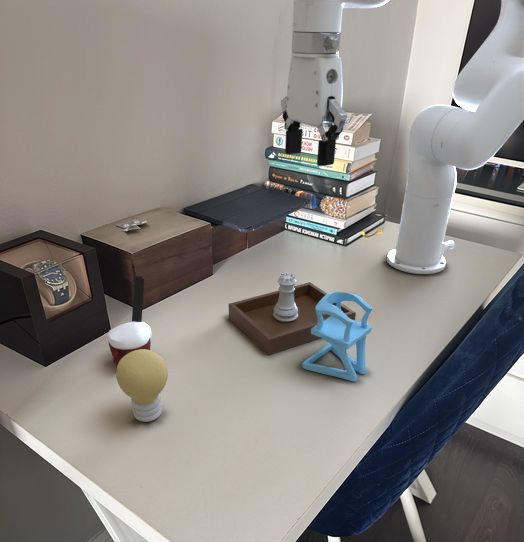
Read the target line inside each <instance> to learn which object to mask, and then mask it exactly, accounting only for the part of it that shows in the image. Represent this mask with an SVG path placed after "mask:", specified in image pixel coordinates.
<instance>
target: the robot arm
mask: <svg viewBox="0 0 524 542" xmlns="http://www.w3.org/2000/svg"><path fill="white" fill-rule="evenodd" d="M389 1H390V0H293V9H292V10H293V11H292V33H291V38H292V39H291V58H290V64H289V69H288V70H289V71H288V77H287V78H288V80H287V87H286V88H287V89H286V96H285V97H284V98H282V99H281V101H280V106H281V111H282V114H281V115H282V119H283V122H284V124H283V127H284V130H285V144H284V145H285V147H284V153H285V154H286V155H294V154H300V153H302V149H303V148H302V145H303V128H301V126H302V125H307V126H311V127H316V128H317V130H318V133H319V135H320V136H319V137H320V139H321V140H318V143H317V145H318V146H317V159H316V165H317V166H318V167H324V166H331V165H334V164H335V157H336V146H337V145H336V144H337V141H338V140H339V139H340V135H341V133H343V130H344V126H345V125H346V121H347V119H348V114H347V112H346V111H345V110H344V109H343V89H344V88H343V87H344V86H343V82H344V81H343V80H344V79H343V64H342V57H340V47H341V46H340V45H341V35H342V34H341V32H342V21H343V12H344V11H343V10H344V9H374V8H379V7H381V6H383V5H385V4H386V3H388V2H389ZM500 2H501V5H500V13H499V17H498V20H497V22H496V24H495V26H494V27H493V29H492V30H491V32H490V33H489V35H488V36H487V37H486V39H485V40H484V41H483V43H482V44H481V45H480V47H479V48H478V49H477V51H476V52H475V53H474V54H473V55H472V57H471V58H470V59H469V61H468V62H467V63H466V64H465V66H464V67H463V68H462V69H461V71H460V72H459V74H458V75H457V76H456V78H455V80H454V82H453V86H452V98H453V100H454V102H455V103H456V104H457V105H458V106H460V107H457V106H453V105H449V104H434V105H430V106H428V107H425V108H424V109H422V110H421V111H420V112H419V113H418V114H417V115H416V117H414V120H413V122H412V124H411V125H410V131H409V140H408V146H409V150H408V151H409V152H408V153H409V163H408V172H407V173H408V174H407V179H406V185H405V192H404V197H403V198H404V199H403V203H402V209H401V215H400V220H399V226H398V231H397V232H398V233H397V239H396V245H395V249H392V250H389V252H388V253H387V255H386V262H387V263H388V264H389V265H390V266H391V267H392V268H394V269H396V270H397V271H401V272H405V273H408V274H415V275H434V274H437V273H440V272H443V271H444V270H445V269H446V266H447V259H446V258H445V257H444V256H443V255H444V253H445V252H446V251H451V250H454V249H455V247H456V243H455V241H454V240H448V241H445V242H444V240H445V236H446V232H447V227H448V226H447V225H448V222H449V217H450V214H451V208H452V203H453V199H454V196H455V191H456V186H457V169H460V170H465V171H472V170H476V169H479V168H481V167H483V166H484V165H485V164H487V163H488V162H489V161H490V160H491V159H492V158H493V157H494V156H495V155H496V153H497V152H498V151H500V149H501V148H502V147H503V146H504V144H505V143H506V142H507V141H508V139H509V138H510V137H511V136H512V135H513V133H514V132H515V131H516V130H517V129H518V127H519V126H520V125H521V123H523V121H524V0H501V1H500ZM326 128H327V129H326ZM456 168H457V169H456Z"/></svg>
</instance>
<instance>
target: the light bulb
mask: <svg viewBox="0 0 524 542" xmlns="http://www.w3.org/2000/svg"><path fill="white" fill-rule="evenodd" d="M115 375H116V376H115V377H116V381H117V384H118V387H119V389H121V391H122V392H123V393H124V394H125V395H126V396H128V397H129V398H130V399H131V407H132V412H133V416H134V418H135V419H136V420H137V421H140V422H145V423H147V422H153V421H155V420H157V419H158V418H159V417H160V416H161V414H162V412H163V409H162V401H161V395H160V393H162V391H163V390H164V388H165V387H166V385H167V381H168V379H169V370H168V366H167V363H166V362H165V360H164V359H163V357H162V356H161V355H160V354H158V353H157V352H155V351H153V350H151V349H150V350H146V349H139V350H135V351H132V352H130V353H128V354H127V355H125V356H124V357H123V358H122V359H121V360H120V361H119V363H118V365H117V366H116V372H115Z"/></svg>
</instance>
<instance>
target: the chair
mask: <svg viewBox="0 0 524 542" xmlns="http://www.w3.org/2000/svg"><path fill="white" fill-rule="evenodd" d="M343 302H354V303H356V304H357V305H358V306H359V307H360V308H361V309H362V310H363V311H364V312H365V313H364V314H363V316H362V318H361V320H360V321H361V322H360V321H357V320H355V321H354V320H352V319H350V318H349V317H347V316H346V315H345V314H344V313H343V312H342V311H341V303H343ZM333 303H336V306H335V305H333ZM315 309H316V314H317V317H318V324H317V325H316V326H314V327H313V328H311V334H313V335H316V336H318V337H321V338H320V339H322V340H324V341H325V342H327V343H328V344H326V345H325V346H323V347H322V348H321V349H319V350H318V351H316V352H315V353H314V354H312V355H310V356H309V357H308V358H307V359H305V360H304V361H302V369H303V370H306V371H310V372H314V373H319V374H323V375H327V376H332V377H335V378H340V379H343V380H347V381H349V382H352V383H353V382H357V379H358V378H357V373H358V374H361V375H365V374H366V370H367V369H366V338H367V336H368V335H369V334H371V333H372V330H373V327H372V326H370V325H368V319H369V316H370V314H371V313H372V312H373V310H374V308H373V307H372V306H371V305H369V304H368V303H367V302H366V301H365V300H364V299H363V298H362V297H361V296H359V295H358V294H355V293H350V292H346V291H331V292H327V294H326V295H325V296H324V297H323V298H322V299H321V300H320V301H319V303H318V304H317V305H316V307H315ZM321 314H328V315H331V316H330V317H329V318H327V319H326V320H324V321H323V317H322V315H321ZM354 345H355V348H356V360H355V359H354V358H352V357H351V356H350V355H349V354H348V353H347V350H350V349H351V348H352V347H353V346H354ZM330 351H331V352H333V353H334V354H335V355H336V356H337V357H338V358H340V360H341V362H342V365H343V366H344V368H345V370H344V369H340V368H336V367H332V366H326V365H322V364H316V363H315V362H316V361H317V360H318V359H320V358H321V357H323V356H324V355H325V354H327V353H328V352H330Z"/></svg>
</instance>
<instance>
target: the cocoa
mask: <svg viewBox="0 0 524 542" xmlns="http://www.w3.org/2000/svg"><path fill="white" fill-rule="evenodd" d="M144 289H145V277H144V276H142V275H134V279H133V295H132V313H131V321H127V322H124V323H120V324H119V325H118V326H115V327H113V328H111V329H110V330H108V333H107V335H106V339H107V341H108V347H109V350H110V353H111V357H112V360H113V363H114V364H115V365H117V366H118V363H119V361H120V360H121V359H122V358H123V357H124V356H125V355H127V354H128V353H130V352H132V351H135V350H139V349H146V350H150V351H151V343H152V342H151V341H152V340H151V337H152V336H153V334H152V329H151V327H150V325H149V324H147V323H146V322H145V321H143V307H144V306H143V305H144V291H145V290H144Z"/></svg>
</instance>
